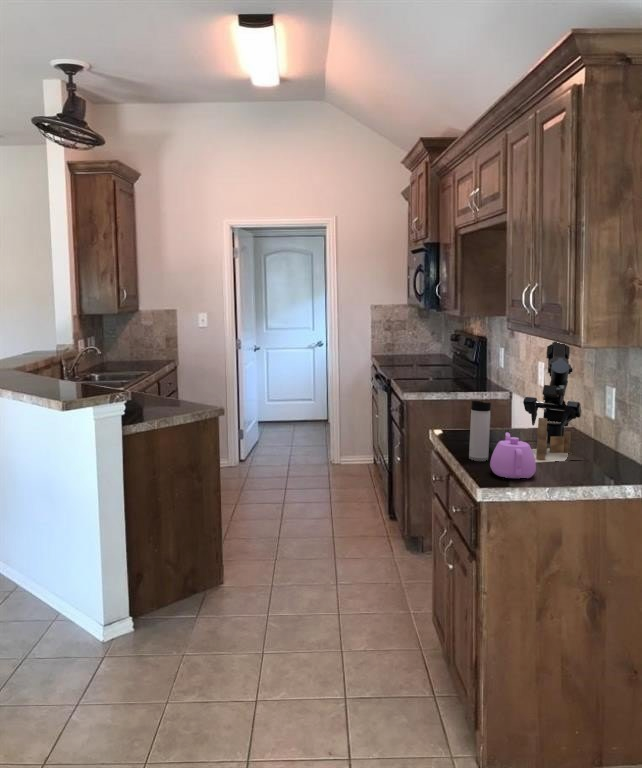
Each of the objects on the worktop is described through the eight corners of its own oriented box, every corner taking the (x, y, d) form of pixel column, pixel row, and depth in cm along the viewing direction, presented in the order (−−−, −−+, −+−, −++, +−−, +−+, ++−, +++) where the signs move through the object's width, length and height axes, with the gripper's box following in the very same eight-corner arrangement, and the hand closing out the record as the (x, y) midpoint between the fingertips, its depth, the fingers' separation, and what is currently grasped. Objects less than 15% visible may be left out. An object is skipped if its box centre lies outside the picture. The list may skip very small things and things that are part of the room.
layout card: (556, 448, 258) (556, 447, 258) (586, 460, 241) (586, 459, 241) (503, 450, 253) (503, 450, 253) (530, 462, 236) (530, 462, 236)
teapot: (542, 484, 210) (544, 444, 208) (495, 482, 210) (497, 443, 209) (525, 467, 230) (527, 431, 228) (483, 466, 230) (485, 430, 229)
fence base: (566, 451, 253) (567, 430, 252) (570, 453, 250) (572, 432, 250) (543, 452, 251) (544, 431, 250) (547, 454, 248) (549, 433, 247)
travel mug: (464, 459, 239) (467, 399, 236) (475, 456, 244) (477, 397, 241) (481, 462, 235) (484, 402, 232) (491, 459, 239) (494, 400, 237)
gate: (540, 451, 250) (542, 413, 248) (548, 452, 249) (551, 414, 247) (535, 458, 239) (538, 418, 237) (544, 459, 238) (546, 419, 236)
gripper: (526, 373, 250) (515, 409, 242) (582, 378, 241) (572, 415, 233) (531, 393, 258) (520, 428, 250) (585, 398, 248) (575, 435, 241)
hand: (546, 426), depth 243 cm, fingers open, 9 cm apart
